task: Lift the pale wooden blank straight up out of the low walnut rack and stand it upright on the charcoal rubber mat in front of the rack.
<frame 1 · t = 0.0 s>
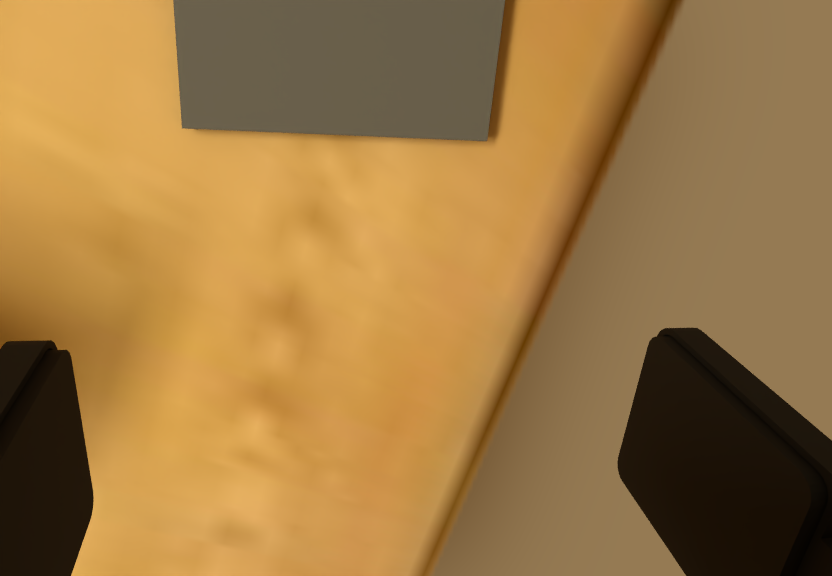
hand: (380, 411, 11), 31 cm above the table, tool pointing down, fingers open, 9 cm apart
mat: (343, 25, 37), on the table
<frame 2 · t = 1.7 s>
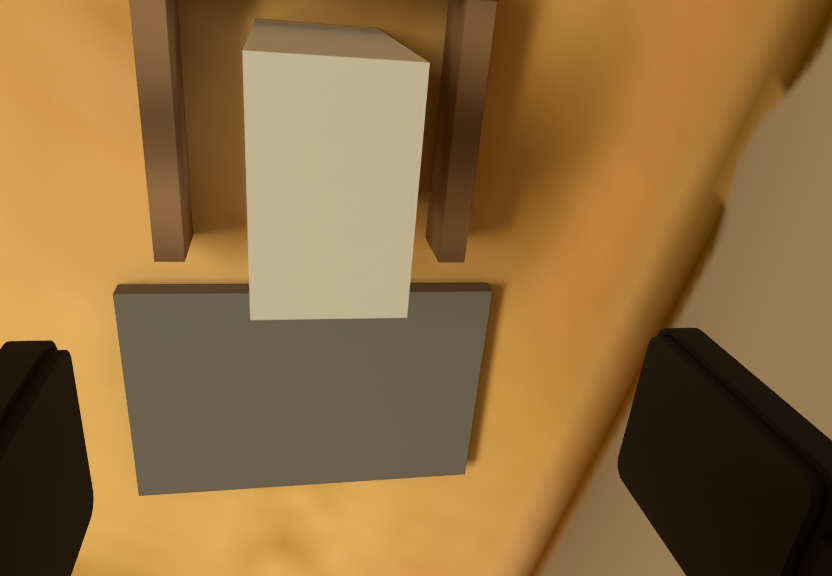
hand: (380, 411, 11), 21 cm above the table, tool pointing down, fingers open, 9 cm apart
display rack: (315, 120, 29), on the table
blank block: (323, 152, 24), in the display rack
mat: (310, 384, 35), on the table
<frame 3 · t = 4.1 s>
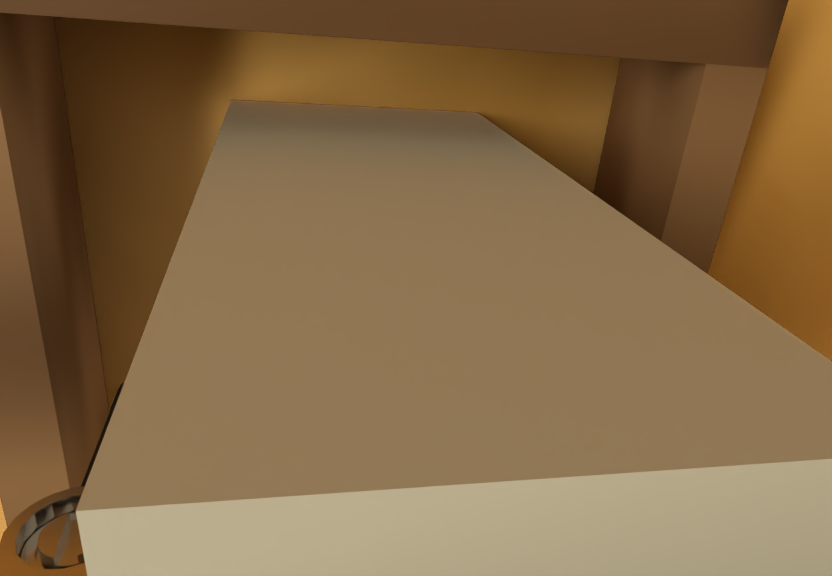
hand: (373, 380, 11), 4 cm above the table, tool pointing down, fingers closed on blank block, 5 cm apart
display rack: (351, 284, 15), on the table
blank block: (385, 435, 10), in the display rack, touching gripper
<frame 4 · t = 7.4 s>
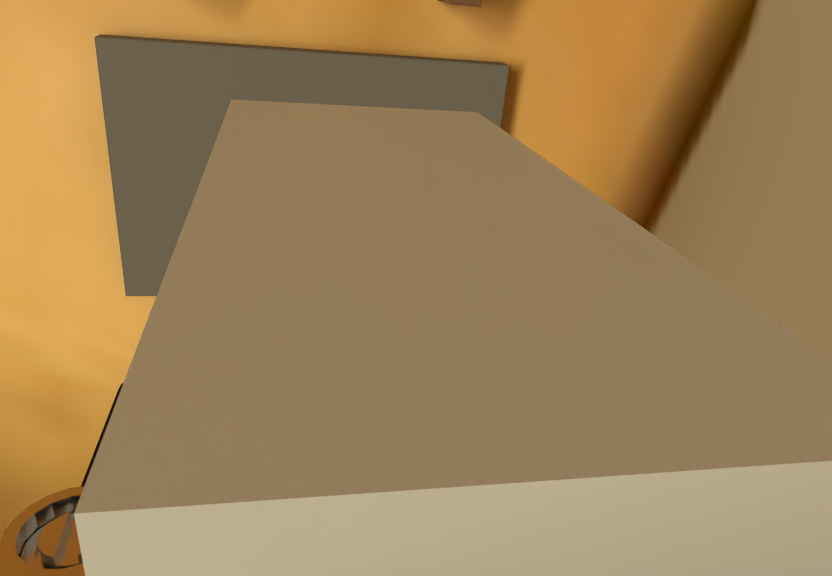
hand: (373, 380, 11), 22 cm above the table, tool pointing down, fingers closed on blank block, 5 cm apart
blank block: (386, 436, 10), point 24 cm above the table, touching gripper
mat: (311, 177, 32), on the table
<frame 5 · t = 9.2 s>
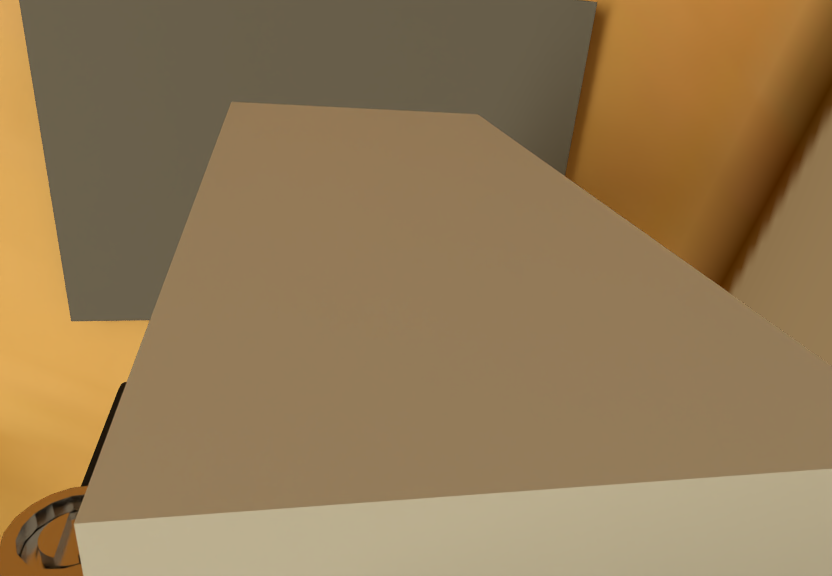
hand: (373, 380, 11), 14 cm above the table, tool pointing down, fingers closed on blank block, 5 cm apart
blank block: (386, 438, 10), point 16 cm above the table, touching gripper
mat: (324, 159, 24), on the table
when the fingers open (6 cm above the table, at t = 11.1 s): blank block stays where it is, resting on mat.
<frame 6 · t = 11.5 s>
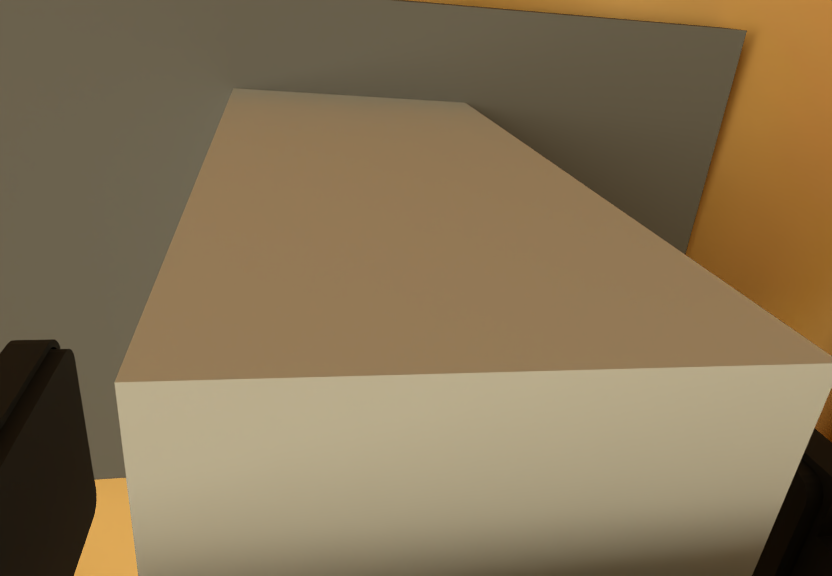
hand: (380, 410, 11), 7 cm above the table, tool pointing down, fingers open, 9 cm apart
blank block: (375, 397, 11), on the mat, point 6 cm above the table
mat: (343, 252, 17), on the table
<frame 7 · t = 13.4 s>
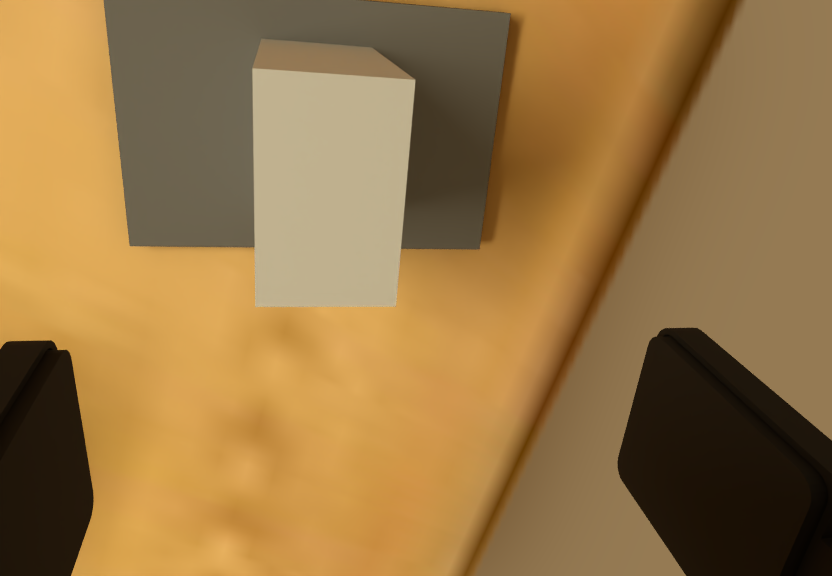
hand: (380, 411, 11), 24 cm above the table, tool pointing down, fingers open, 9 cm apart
blank block: (321, 158, 27), on the mat, point 6 cm above the table
mat: (315, 128, 32), on the table
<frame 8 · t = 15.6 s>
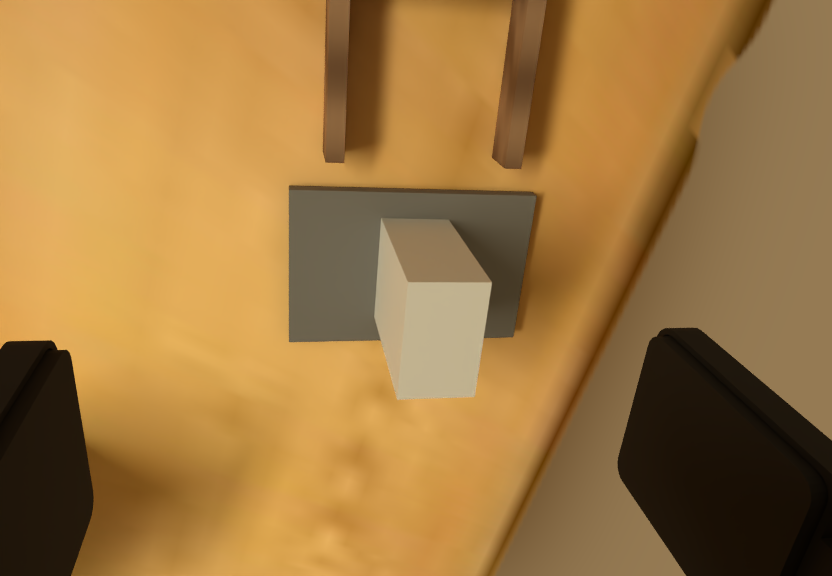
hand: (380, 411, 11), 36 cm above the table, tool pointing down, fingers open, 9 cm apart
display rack: (424, 74, 44), on the table
blank block: (425, 301, 44), on the mat, point 6 cm above the table
mat: (408, 264, 50), on the table
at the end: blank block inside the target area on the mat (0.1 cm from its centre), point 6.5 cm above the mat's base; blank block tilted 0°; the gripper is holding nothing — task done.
